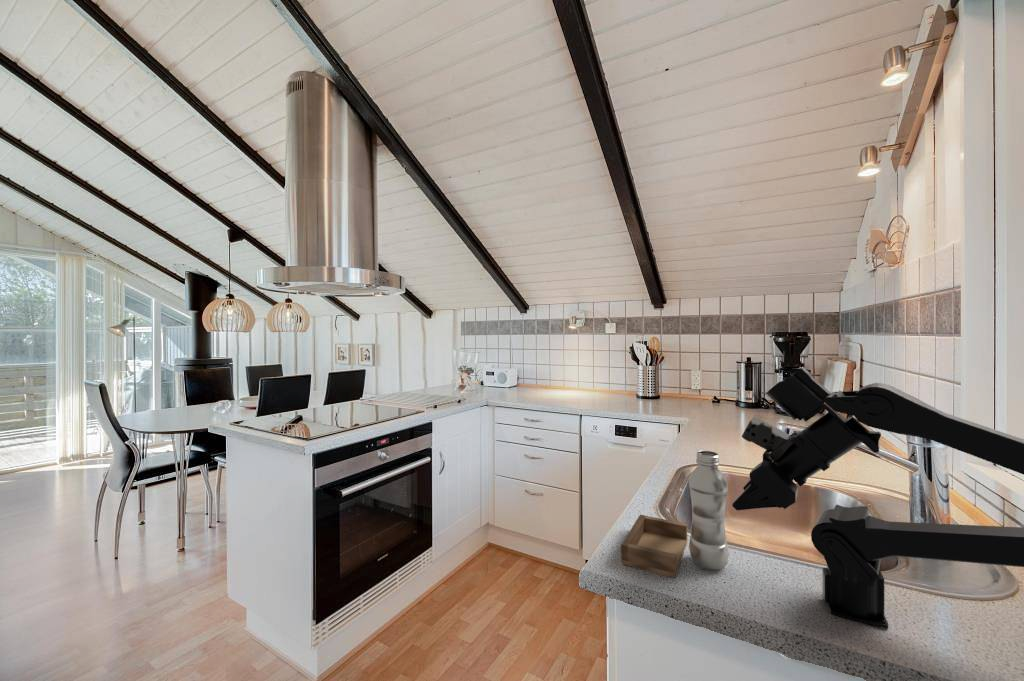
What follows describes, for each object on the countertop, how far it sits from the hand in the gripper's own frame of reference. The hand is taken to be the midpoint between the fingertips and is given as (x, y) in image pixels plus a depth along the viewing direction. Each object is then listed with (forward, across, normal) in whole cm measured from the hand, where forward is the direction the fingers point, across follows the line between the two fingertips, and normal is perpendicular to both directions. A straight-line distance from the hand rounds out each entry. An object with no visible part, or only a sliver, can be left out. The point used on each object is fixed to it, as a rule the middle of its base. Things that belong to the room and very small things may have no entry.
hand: (740, 498), depth 72 cm
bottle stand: (+19, +2, -1) cm, 19 cm away
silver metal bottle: (+13, 0, +6) cm, 14 cm away
